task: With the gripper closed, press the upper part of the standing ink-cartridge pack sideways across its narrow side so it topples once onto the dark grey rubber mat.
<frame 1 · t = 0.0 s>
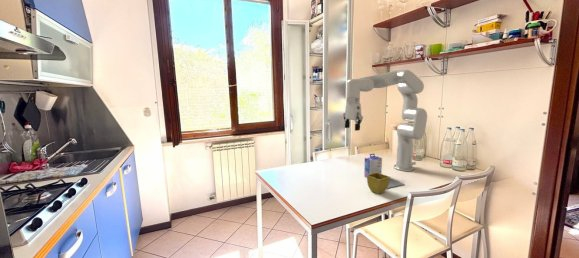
hand: (352, 129, 151), 31 cm above the table, tool pointing down, fingers open, 9 cm apart
flower pot: (377, 191, 137), on the table
ink cartridge box: (372, 176, 159), on the table
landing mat: (385, 182, 149), on the table
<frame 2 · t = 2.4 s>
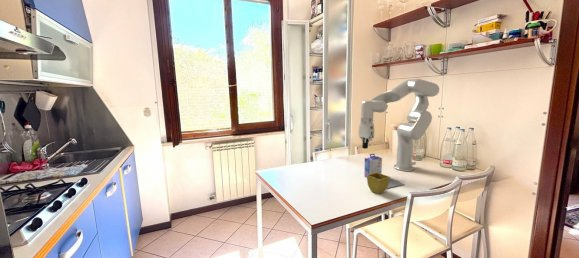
hand: (365, 148, 163), 17 cm above the table, tool pointing down, fingers closed
nothing on the table moved.
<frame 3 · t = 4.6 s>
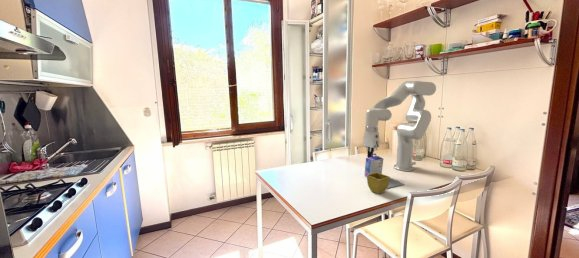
hand: (370, 157, 160), 12 cm above the table, tool pointing down, fingers closed
ink cartridge box: (372, 176, 159), on the table, touching gripper
everything else where it was.
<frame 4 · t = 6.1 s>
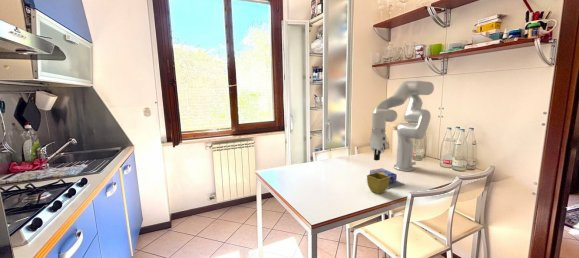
hand: (376, 159, 155), 12 cm above the table, tool pointing down, fingers closed
ink cartridge box: (375, 172, 156), point 3 cm above the table, touching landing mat
everything else where it was.
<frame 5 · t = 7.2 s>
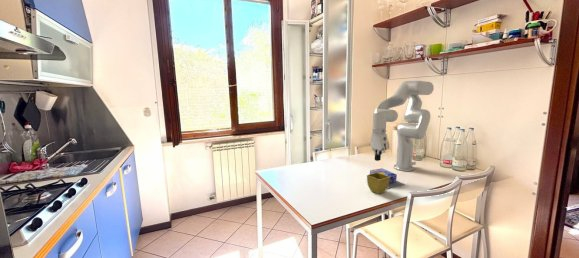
hand: (377, 160, 154), 12 cm above the table, tool pointing down, fingers closed
nothing on the table moved.
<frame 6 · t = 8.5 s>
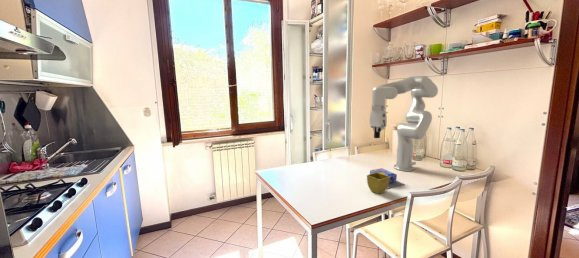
hand: (376, 137, 154), 25 cm above the table, tool pointing down, fingers closed
nothing on the table moved.
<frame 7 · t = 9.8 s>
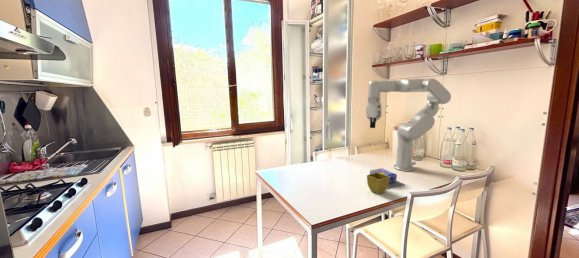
hand: (372, 127, 167), 29 cm above the table, tool pointing down, fingers closed
nothing on the table moved.
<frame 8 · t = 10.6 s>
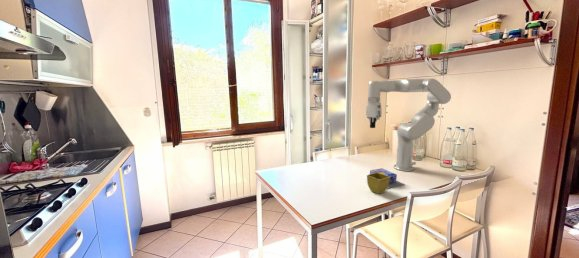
hand: (372, 127, 167), 29 cm above the table, tool pointing down, fingers closed
nothing on the table moved.
at the end: ink cartridge box tilted 92°; ink cartridge box touching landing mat; ink cartridge box inside the target area (1.6 cm from its centre), point 3.3 cm above the table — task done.
